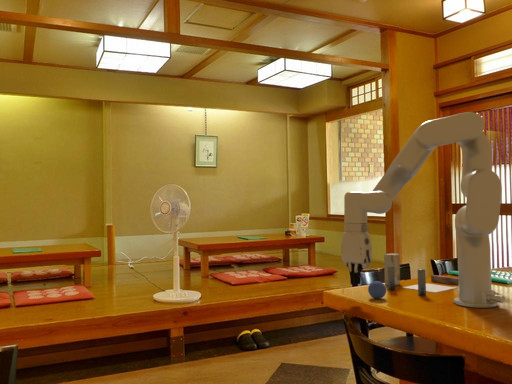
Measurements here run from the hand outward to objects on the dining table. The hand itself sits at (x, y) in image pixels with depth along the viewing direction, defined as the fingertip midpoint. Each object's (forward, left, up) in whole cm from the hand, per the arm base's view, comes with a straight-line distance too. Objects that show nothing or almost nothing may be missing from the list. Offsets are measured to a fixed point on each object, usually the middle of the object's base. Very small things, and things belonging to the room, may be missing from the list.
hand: (355, 283), depth 156 cm
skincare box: (+13, -36, -6) cm, 39 cm away
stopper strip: (-1, -54, -6) cm, 54 cm away
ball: (-1, -10, -3) cm, 11 cm away
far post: (+6, -26, -6) cm, 27 cm away
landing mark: (-1, -40, -6) cm, 40 cm away
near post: (-7, -26, -6) cm, 28 cm away
